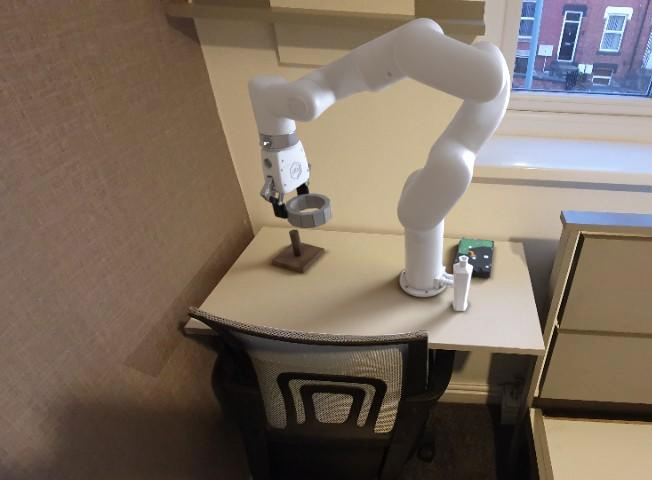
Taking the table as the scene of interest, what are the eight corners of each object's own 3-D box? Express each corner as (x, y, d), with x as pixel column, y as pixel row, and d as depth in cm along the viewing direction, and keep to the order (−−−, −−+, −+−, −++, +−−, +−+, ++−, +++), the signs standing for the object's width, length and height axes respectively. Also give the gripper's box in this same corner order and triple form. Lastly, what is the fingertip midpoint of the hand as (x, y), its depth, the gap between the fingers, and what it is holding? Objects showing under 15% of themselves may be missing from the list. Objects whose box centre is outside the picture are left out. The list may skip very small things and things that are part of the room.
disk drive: (490, 279, 107) (493, 247, 119) (491, 271, 106) (494, 240, 118) (452, 274, 108) (459, 243, 120) (453, 267, 107) (459, 235, 119)
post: (325, 252, 114) (320, 226, 109) (303, 273, 106) (297, 246, 101) (295, 244, 116) (289, 218, 111) (272, 264, 109) (265, 237, 103)
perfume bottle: (471, 311, 97) (476, 263, 89) (454, 313, 96) (457, 265, 88) (466, 298, 101) (470, 251, 92) (449, 300, 100) (452, 253, 91)
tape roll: (339, 211, 97) (338, 198, 95) (316, 232, 89) (313, 218, 87) (305, 203, 100) (302, 190, 97) (279, 222, 92) (275, 209, 90)
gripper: (266, 156, 77) (283, 230, 87) (317, 128, 91) (327, 195, 101) (234, 149, 79) (255, 223, 89) (289, 123, 92) (302, 189, 103)
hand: (293, 208), depth 95 cm, fingers closed on tape roll, 8 cm apart
